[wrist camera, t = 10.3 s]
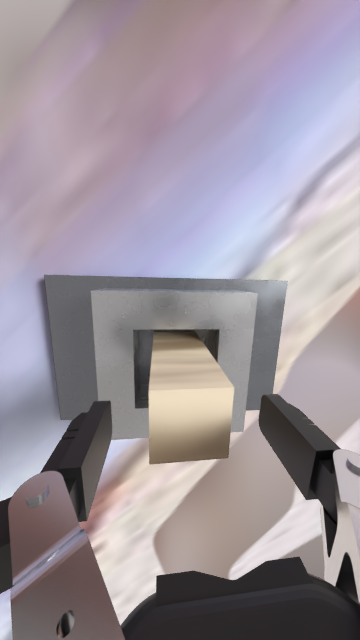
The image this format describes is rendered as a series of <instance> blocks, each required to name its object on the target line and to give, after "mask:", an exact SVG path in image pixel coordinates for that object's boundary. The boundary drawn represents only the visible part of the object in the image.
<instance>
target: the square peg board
mask: <svg viewBox="0 0 360 640" xmlns="http://www.w3.org/2000/svg"><path fill="white" fill-rule="evenodd" d="M44 278H45V287H46V296H47V304H48V313H49V322H50V330H51V339H52V348H53V357H54V365H55V374H56V383H57V391H58V400H59V409H60V418H61V420H70V419H75V418H76V417H77V416H78V415H79V414H80V413H85V412H88V411H89V409H90V408H91V406H92V404H93V402H94V401H110V402H111V413H112V437H111V440H117V439H133V438H149V381H150V369H151V358H152V347H153V336H154V332H196V333H197V335H198V336H199V337H200V339H201V340H202V342H203V343H204V345H205V346H206V347H207V349H208V350H209V352H210V353H211V355H212V356H213V358H214V359H215V360H216V362H217V363H218V365H219V366H220V368H221V369H222V370H223V372H224V373H225V375H226V376H227V378H228V379H229V380H230V382H231V383H232V385H233V386H234V397H233V408H232V420H231V431H230V432H243V430H244V420H245V411H246V410H260V405H261V398H262V396H263V395H268V394H273V386H274V379H275V371H276V364H277V356H278V349H279V341H280V334H281V326H282V319H283V311H284V304H285V296H286V289H287V281H269V280H229V279H189V278H149V277H109V276H69V275H44Z"/></svg>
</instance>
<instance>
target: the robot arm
mask: <svg viewBox="0 0 360 640" xmlns="http://www.w3.org/2000/svg"><path fill="white" fill-rule="evenodd" d="M259 426H260V429H261V432H262V433H263V435H264V436H265V438H266V440H267V441H268V442H269V444H270V446H271V447H272V449H273V450H274V452H275V453H276V455H277V456H278V458H279V459H280V461H281V462H282V464H283V465H284V467H285V468H286V470H287V471H288V473H289V475H290V476H291V478H292V479H293V480H294V482H295V484H296V485H297V487H298V488H299V490H300V491H301V493H302V494H303V496H304V497H305V499H306V500H311V499H318V500H319V501H320V502H321V504H322V505H321V509H320V513H321V525H322V538H323V550H324V563H325V575H324V580H323V579H321V578H319V577H316V576H314V575H311V574H308V573H307V571H306V569H305V567H304V565H303V563H302V561H301V559H300V557H293V558H286V559H278V560H271V561H266V562H264V563H263V564H261V565H259V566H258V567H256V568H255V569H253V570H251V571H250V572H248V573H247V574H245V575H243V576H242V577H240V578H239V579H237V580H228V579H224V578H220V577H217V576H213V575H209V574H205V573H201V572H196V571H189V572H181V573H173V574H166V575H159V576H157V582H156V593H154V594H152V595H151V596H149V597H147V598H146V599H145V600H144V601H143V602H141V603H140V604H139V605H138V606H137V607H136V608H135V609H134V610H133V611H132V612H131V613H130V614H129V615H128V617H127V618H126V619H125V621H124V622H123V623H122V624H121V626H120V624H119V621H118V618H117V616H116V613H115V610H114V607H113V605H112V602H111V599H110V596H109V594H108V591H107V588H106V585H105V583H104V580H103V577H102V574H101V571H100V569H99V566H98V563H97V560H96V558H95V555H94V552H93V549H92V547H91V544H90V541H89V538H88V536H87V533H86V531H85V530H84V529H83V530H81V527H80V525H79V522H82V521H87V519H88V516H89V512H90V509H91V506H92V502H93V499H94V495H95V492H96V489H97V485H98V482H99V479H100V475H101V472H102V469H103V465H104V462H105V459H106V455H107V452H108V449H109V445H110V442H111V437H112V413H111V402H110V401H94V402H93V404H92V406H91V408H90V409H89V411H88V412H85V413H80V414H79V415H78V416H77V417H76V418H75V419H73V420H72V422H71V423H70V425H69V427H68V428H67V431H66V432H65V433H64V435H63V436H62V439H61V440H60V441H59V443H58V445H57V446H56V448H55V450H54V451H53V453H52V455H51V456H50V458H49V459H48V461H47V463H46V464H45V466H44V468H43V469H42V471H41V473H40V474H37V475H35V476H33V477H32V478H30V479H29V480H27V481H26V482H25V483H23V484H22V485H21V486H20V487H19V488H18V489H17V491H16V492H15V493H14V495H13V496H12V497H10V498H8V499H6V500H3V501H0V594H1V593H2V592H4V591H6V590H8V589H10V588H11V617H12V635H13V640H360V455H359V454H357V453H355V452H352V451H349V450H344V449H340V448H339V447H338V446H337V445H336V444H335V443H334V442H333V441H332V440H331V439H330V438H329V437H328V436H327V435H326V434H324V432H322V431H321V430H320V429H319V428H318V427H317V426H316V425H314V423H313V422H312V421H311V420H310V419H308V417H307V416H306V415H305V414H304V413H302V412H301V411H300V410H299V409H297V408H296V407H294V406H292V405H291V404H288V403H287V402H286V401H285V400H284V399H282V397H281V396H280V395H278V394H268V395H263V396H262V398H261V405H260V413H259Z"/></svg>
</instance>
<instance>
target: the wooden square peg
mask: <svg viewBox="0 0 360 640" xmlns="http://www.w3.org/2000/svg"><path fill="white" fill-rule="evenodd" d="M233 397H234V386H233V385H232V383H231V382H230V380H229V379H228V378H227V376H226V375H225V373H224V372H223V370H222V369H221V368H220V366H219V365H218V363H217V362H216V360H215V359H214V358H213V356H212V355H211V353H210V352H209V350H208V349H207V347H206V346H205V345H204V343H203V342H202V340H201V339H200V337H199V336H198V335H197V333H196V332H154V336H153V347H152V358H151V369H150V381H149V463H150V464H160V463H173V462H185V461H197V460H210V459H222V458H228V455H229V443H230V431H231V420H232V408H233Z"/></svg>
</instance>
